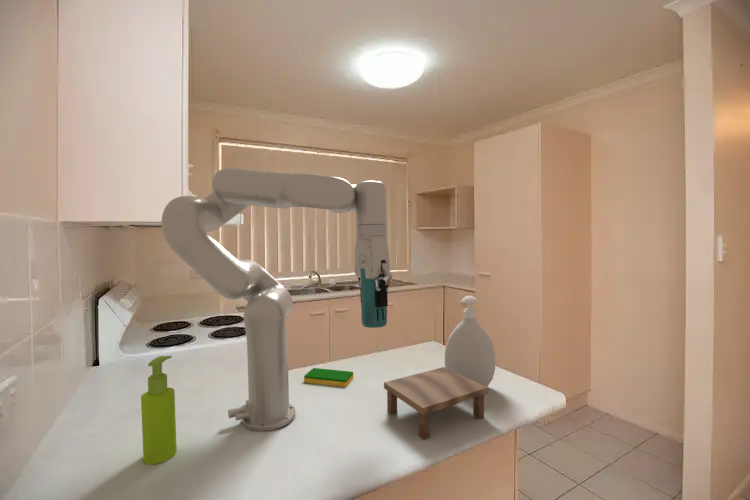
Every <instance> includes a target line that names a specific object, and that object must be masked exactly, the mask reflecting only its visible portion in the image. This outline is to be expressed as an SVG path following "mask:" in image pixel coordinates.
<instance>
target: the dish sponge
mask: <svg viewBox="0 0 750 500" xmlns="http://www.w3.org/2000/svg"><path fill="white" fill-rule="evenodd" d="M303 377H304V378H303V380H304V381H303V383H307V384H308V383H309V384H317V385H324V386H325V385H326V386H336V387H342V388H345V387H347V386H349V384H350V383H351V382H352V381H353V379H354V372H353V371H350V370H349V371H348V370H337V369H327V368H318V367H312V369H310V371H308V372H307V373H305V375H303Z"/></svg>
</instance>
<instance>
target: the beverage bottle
mask: <svg viewBox="0 0 750 500" xmlns="http://www.w3.org/2000/svg"><path fill="white" fill-rule="evenodd" d="M360 272H361V296H360V304H361V305H360V309H361V313H360V314H361V321H360V322H361V324H362V326H363V327H364V328H370V329H371V328H372V329H374V328H375V329H377V328H383V327H386V326H387V324H388V306H386V307H379V308H377V307H375V291H377V290H376V286H375V282H374V279H373V280H370V279H367V278H365V269H363V268H361V269H360ZM378 277H382V275H379V276H378ZM380 283H381V281H379V284H380Z"/></svg>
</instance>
